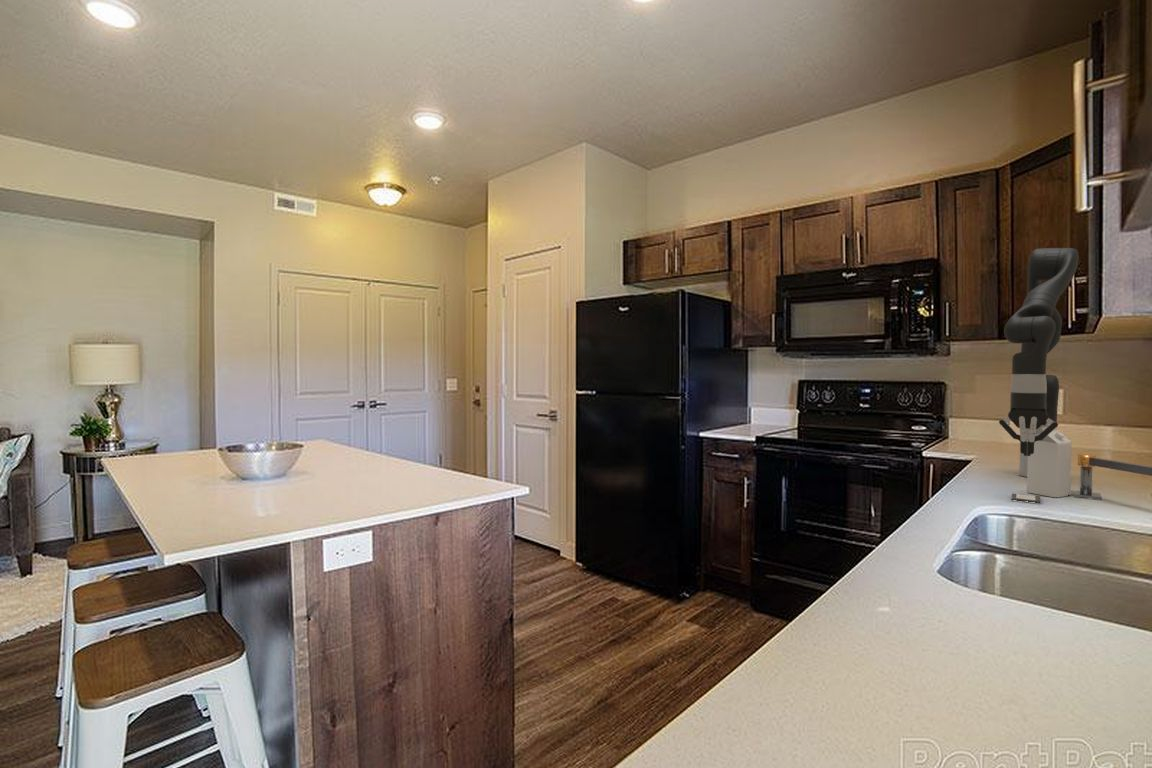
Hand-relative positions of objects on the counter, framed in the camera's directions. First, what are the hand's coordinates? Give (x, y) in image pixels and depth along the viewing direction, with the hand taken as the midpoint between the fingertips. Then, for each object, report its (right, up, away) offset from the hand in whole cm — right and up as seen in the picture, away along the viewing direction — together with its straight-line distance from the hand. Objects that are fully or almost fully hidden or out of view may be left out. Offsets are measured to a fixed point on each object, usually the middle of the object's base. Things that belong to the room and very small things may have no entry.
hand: (1027, 455), depth 151 cm
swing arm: (+20, -4, -7) cm, 22 cm away
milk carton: (+11, -12, +7) cm, 18 cm away
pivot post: (+20, -12, +4) cm, 23 cm away
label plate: (0, -12, 0) cm, 12 cm away
